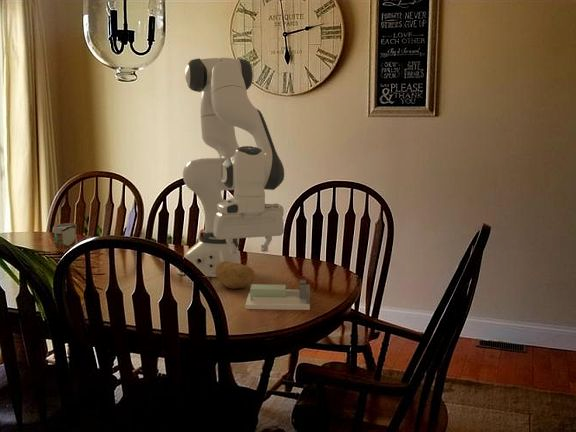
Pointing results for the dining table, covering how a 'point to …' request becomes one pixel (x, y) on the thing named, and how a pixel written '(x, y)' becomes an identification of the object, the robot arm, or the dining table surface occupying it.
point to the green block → (267, 291)
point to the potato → (234, 274)
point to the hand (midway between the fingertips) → (249, 252)
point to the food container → (65, 235)
